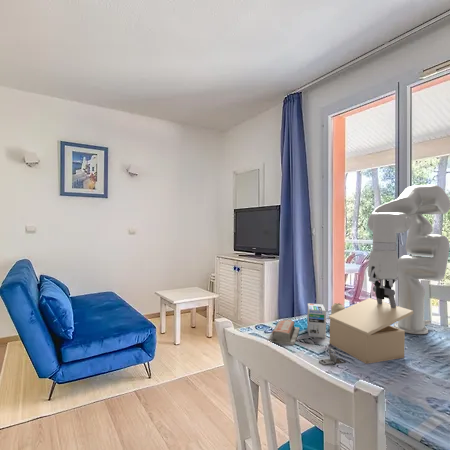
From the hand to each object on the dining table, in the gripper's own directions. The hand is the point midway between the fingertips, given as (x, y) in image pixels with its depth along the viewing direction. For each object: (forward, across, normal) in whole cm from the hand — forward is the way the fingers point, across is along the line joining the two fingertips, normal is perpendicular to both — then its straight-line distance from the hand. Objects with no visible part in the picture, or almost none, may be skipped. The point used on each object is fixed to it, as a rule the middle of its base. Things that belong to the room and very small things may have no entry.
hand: (383, 297), depth 114 cm
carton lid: (+6, +7, 0) cm, 9 cm away
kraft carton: (+18, +8, 0) cm, 20 cm away
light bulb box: (+18, +14, -20) cm, 31 cm away
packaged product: (+18, +28, -21) cm, 40 cm away
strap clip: (+18, +26, +5) cm, 32 cm away
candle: (+18, 0, -24) cm, 30 cm away
